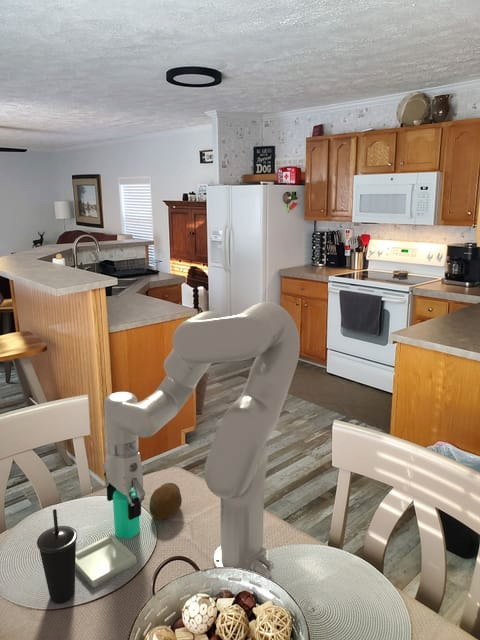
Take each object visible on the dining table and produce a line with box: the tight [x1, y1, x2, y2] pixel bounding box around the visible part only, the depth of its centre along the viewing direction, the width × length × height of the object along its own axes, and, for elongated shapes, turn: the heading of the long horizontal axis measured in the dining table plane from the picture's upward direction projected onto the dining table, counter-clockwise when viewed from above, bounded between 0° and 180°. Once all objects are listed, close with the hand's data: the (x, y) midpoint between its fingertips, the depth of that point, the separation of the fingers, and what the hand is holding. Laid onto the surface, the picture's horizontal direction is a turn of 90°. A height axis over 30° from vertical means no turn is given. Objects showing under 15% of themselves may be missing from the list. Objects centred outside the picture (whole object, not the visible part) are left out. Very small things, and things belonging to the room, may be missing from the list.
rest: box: [75, 534, 137, 589], centre depth 114 cm, size 11×11×2 cm
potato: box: [148, 482, 183, 520], centre depth 131 cm, size 8×12×8 cm, turn 178°
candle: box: [112, 487, 141, 539], centre depth 124 cm, size 6×6×12 cm
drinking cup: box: [36, 508, 78, 605], centre depth 103 cm, size 8×8×20 cm
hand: (123, 507), depth 124 cm, fingers open, 9 cm apart
